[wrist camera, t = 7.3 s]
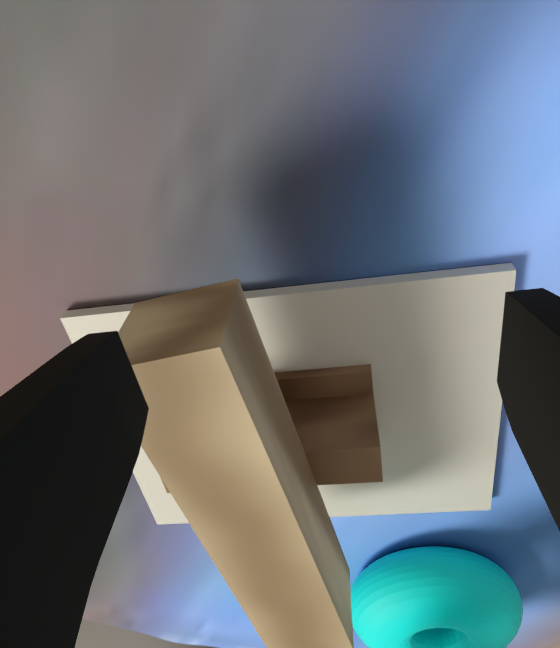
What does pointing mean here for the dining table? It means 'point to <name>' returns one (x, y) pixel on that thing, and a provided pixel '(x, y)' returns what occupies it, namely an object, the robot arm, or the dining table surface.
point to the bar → (239, 463)
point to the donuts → (435, 601)
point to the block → (335, 422)
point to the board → (384, 379)
